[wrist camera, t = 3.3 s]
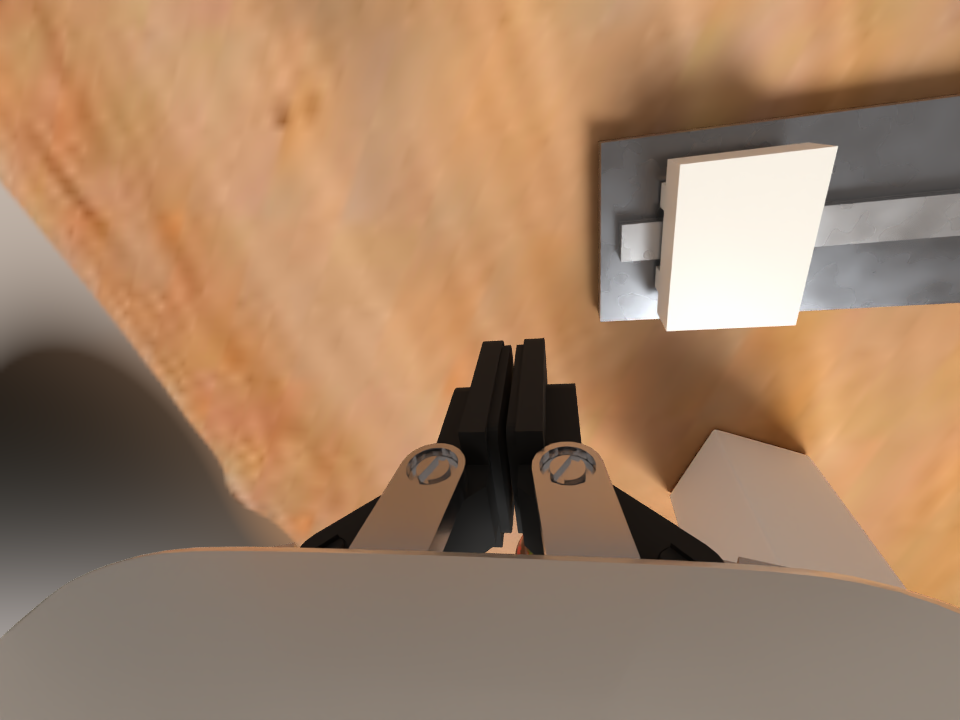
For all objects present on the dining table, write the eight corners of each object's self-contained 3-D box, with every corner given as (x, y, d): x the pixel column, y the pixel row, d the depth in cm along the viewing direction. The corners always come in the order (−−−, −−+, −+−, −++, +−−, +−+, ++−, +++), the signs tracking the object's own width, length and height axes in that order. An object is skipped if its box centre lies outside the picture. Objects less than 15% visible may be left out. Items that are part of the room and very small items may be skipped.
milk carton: (712, 426, 31) (883, 771, 15) (809, 454, 31) (1087, 831, 15) (668, 493, 35) (765, 829, 18) (754, 518, 35) (929, 877, 18)
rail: (1296, 49, 18) (1527, 30, 14) (1150, 280, 23) (1288, 319, 18) (598, 141, 23) (607, 147, 19) (598, 312, 28) (605, 348, 24)
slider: (797, 141, 21) (838, 146, 18) (766, 298, 24) (795, 324, 21) (663, 157, 22) (680, 164, 19) (653, 305, 26) (666, 331, 23)
